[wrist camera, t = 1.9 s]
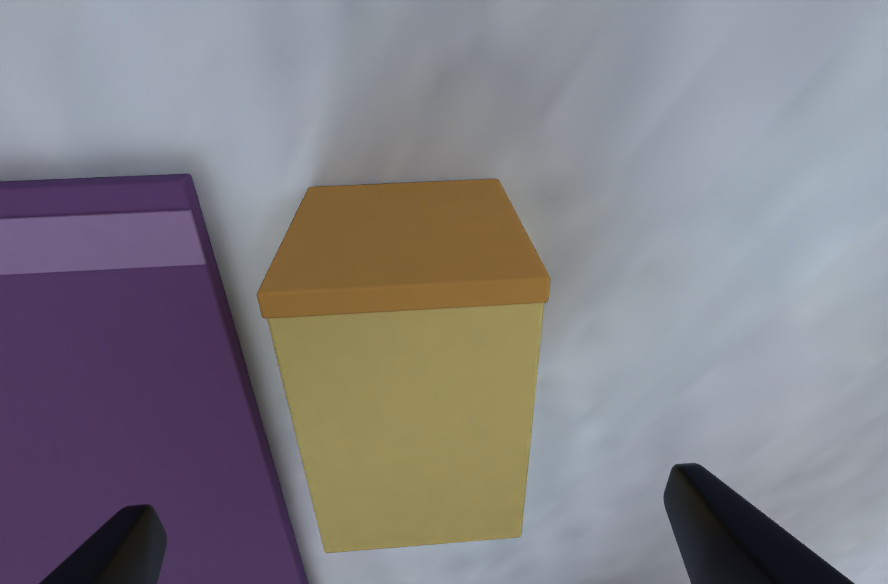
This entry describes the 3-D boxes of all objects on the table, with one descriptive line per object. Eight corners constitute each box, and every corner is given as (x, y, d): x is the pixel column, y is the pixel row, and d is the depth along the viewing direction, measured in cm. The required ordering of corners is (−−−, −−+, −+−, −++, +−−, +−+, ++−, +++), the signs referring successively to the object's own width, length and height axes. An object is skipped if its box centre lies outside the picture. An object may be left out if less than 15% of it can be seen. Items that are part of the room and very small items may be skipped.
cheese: (490, 391, 16) (524, 540, 12) (343, 400, 16) (321, 556, 11) (499, 177, 12) (551, 277, 8) (308, 186, 12) (254, 293, 8)
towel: (318, 617, 22) (316, 634, 21) (-62, 651, 21) (-75, 669, 20) (191, 172, 12) (180, 181, 11) (-554, 203, 11) (-606, 215, 10)
